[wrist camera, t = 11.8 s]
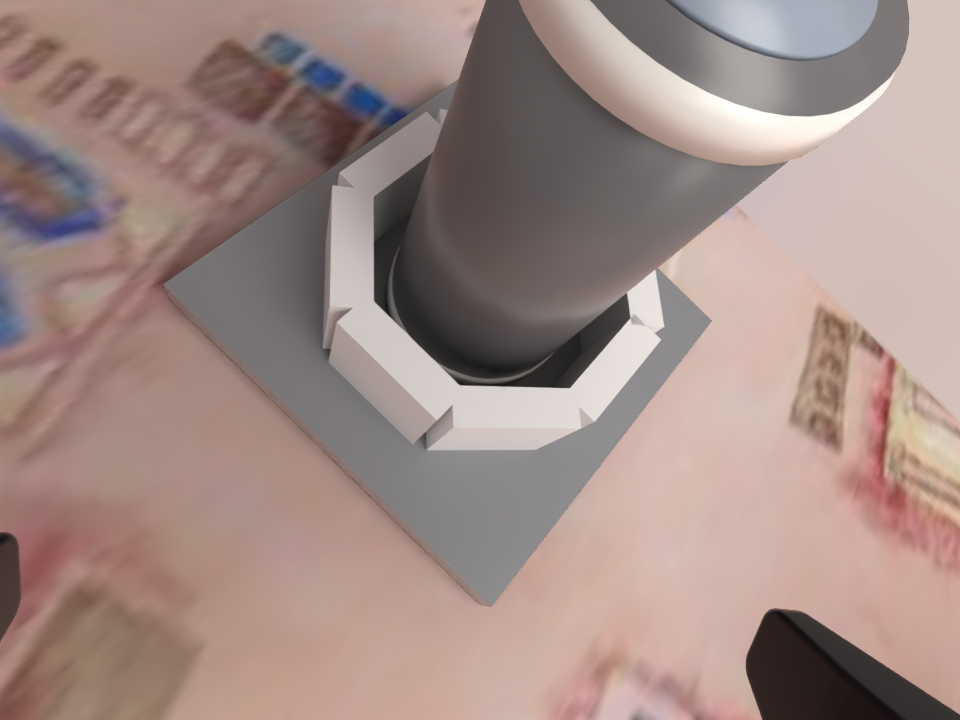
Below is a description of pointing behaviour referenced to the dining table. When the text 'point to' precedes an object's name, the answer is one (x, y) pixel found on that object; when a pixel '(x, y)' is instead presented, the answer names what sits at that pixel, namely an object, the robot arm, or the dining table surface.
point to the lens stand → (424, 365)
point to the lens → (612, 155)
